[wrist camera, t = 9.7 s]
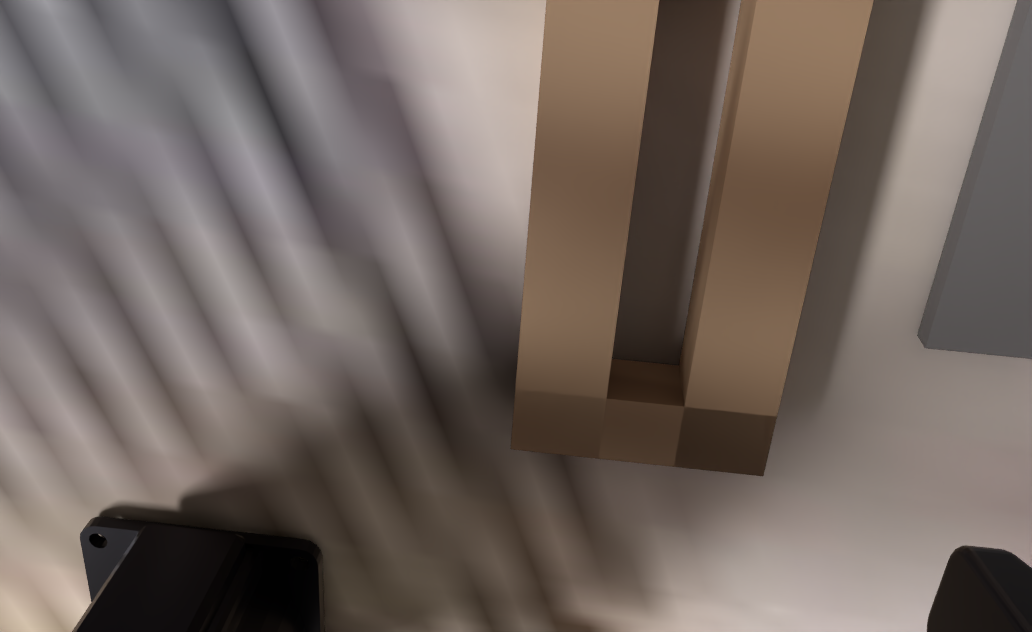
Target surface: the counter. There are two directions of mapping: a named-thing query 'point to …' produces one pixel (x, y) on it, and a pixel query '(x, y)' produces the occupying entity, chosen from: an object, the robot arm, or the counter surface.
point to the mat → (992, 222)
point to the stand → (723, 245)
